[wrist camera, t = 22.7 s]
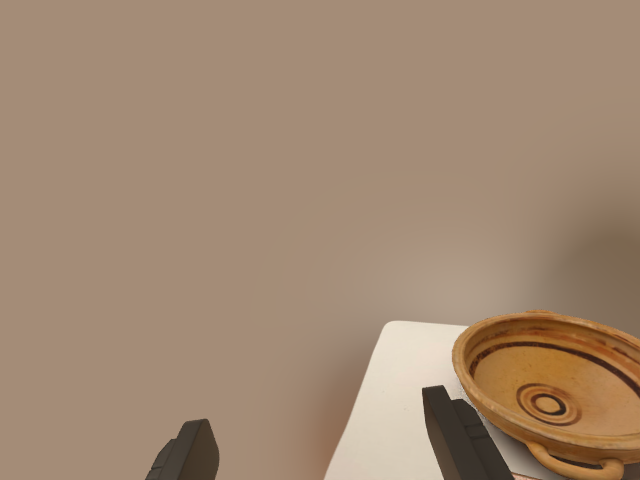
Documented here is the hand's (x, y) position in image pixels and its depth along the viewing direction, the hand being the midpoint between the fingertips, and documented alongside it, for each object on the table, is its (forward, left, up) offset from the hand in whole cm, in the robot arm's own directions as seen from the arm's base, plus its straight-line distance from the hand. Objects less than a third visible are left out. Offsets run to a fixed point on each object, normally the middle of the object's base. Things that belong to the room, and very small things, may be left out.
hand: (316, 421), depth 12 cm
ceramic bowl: (+37, +3, -30) cm, 47 cm away
